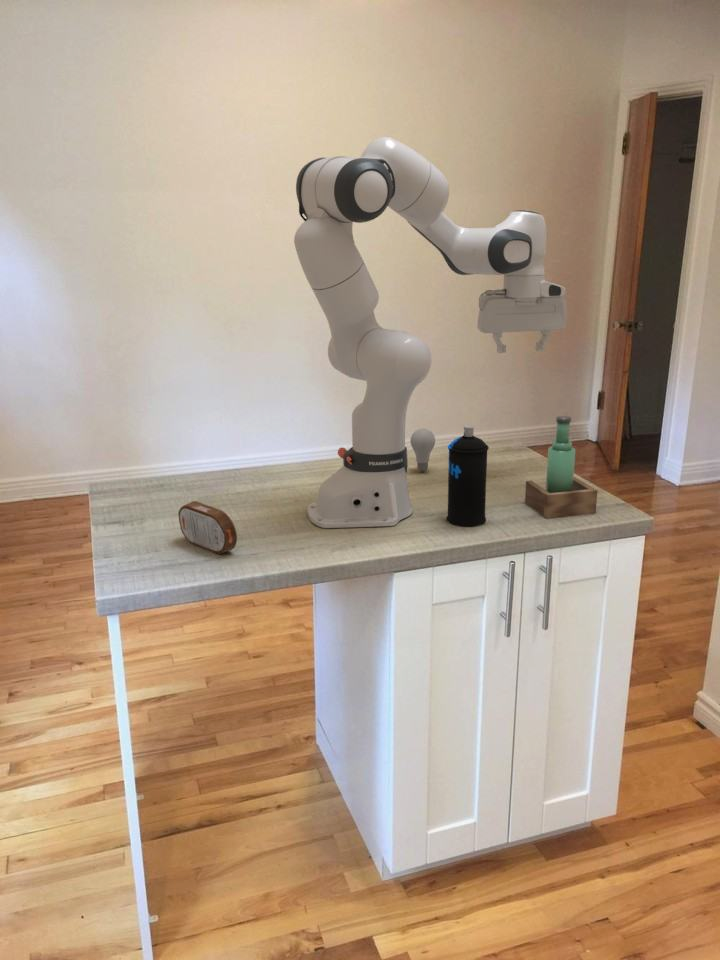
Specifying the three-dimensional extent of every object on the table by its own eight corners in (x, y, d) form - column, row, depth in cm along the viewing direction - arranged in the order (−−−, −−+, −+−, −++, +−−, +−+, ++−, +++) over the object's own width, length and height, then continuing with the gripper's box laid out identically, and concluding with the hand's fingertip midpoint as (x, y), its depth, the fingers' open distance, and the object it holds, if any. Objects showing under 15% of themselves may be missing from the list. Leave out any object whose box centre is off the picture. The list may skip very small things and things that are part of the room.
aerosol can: (485, 513, 167) (488, 421, 161) (487, 527, 159) (490, 431, 153) (446, 512, 168) (447, 421, 162) (446, 526, 160) (448, 431, 154)
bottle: (552, 512, 167) (557, 421, 161) (540, 503, 172) (545, 415, 166) (576, 509, 168) (582, 419, 162) (563, 501, 174) (569, 413, 168)
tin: (239, 554, 148) (236, 512, 146) (226, 560, 146) (223, 517, 143) (190, 536, 158) (187, 496, 155) (177, 540, 156) (174, 500, 153)
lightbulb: (422, 466, 201) (423, 424, 197) (439, 471, 196) (440, 429, 193) (405, 471, 197) (405, 428, 194) (422, 476, 192) (422, 433, 189)
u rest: (546, 518, 164) (547, 495, 162) (524, 502, 173) (526, 481, 172) (595, 512, 166) (597, 490, 165) (572, 497, 176) (573, 476, 174)
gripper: (484, 291, 168) (482, 356, 172) (572, 288, 172) (568, 351, 177) (473, 289, 174) (472, 352, 178) (558, 286, 178) (555, 347, 182)
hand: (520, 351), depth 177 cm, fingers open, 8 cm apart
